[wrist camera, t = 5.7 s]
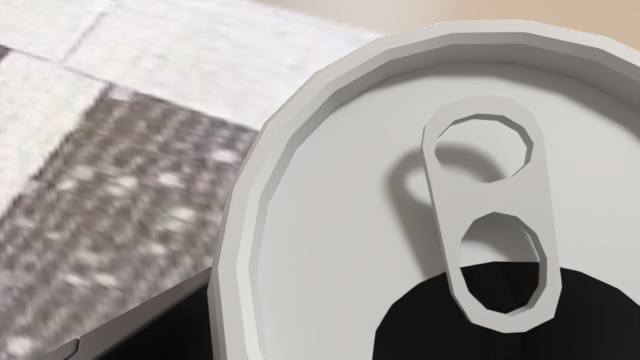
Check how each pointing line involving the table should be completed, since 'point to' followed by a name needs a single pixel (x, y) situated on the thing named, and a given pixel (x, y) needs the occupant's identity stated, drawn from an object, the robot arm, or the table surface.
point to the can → (441, 204)
